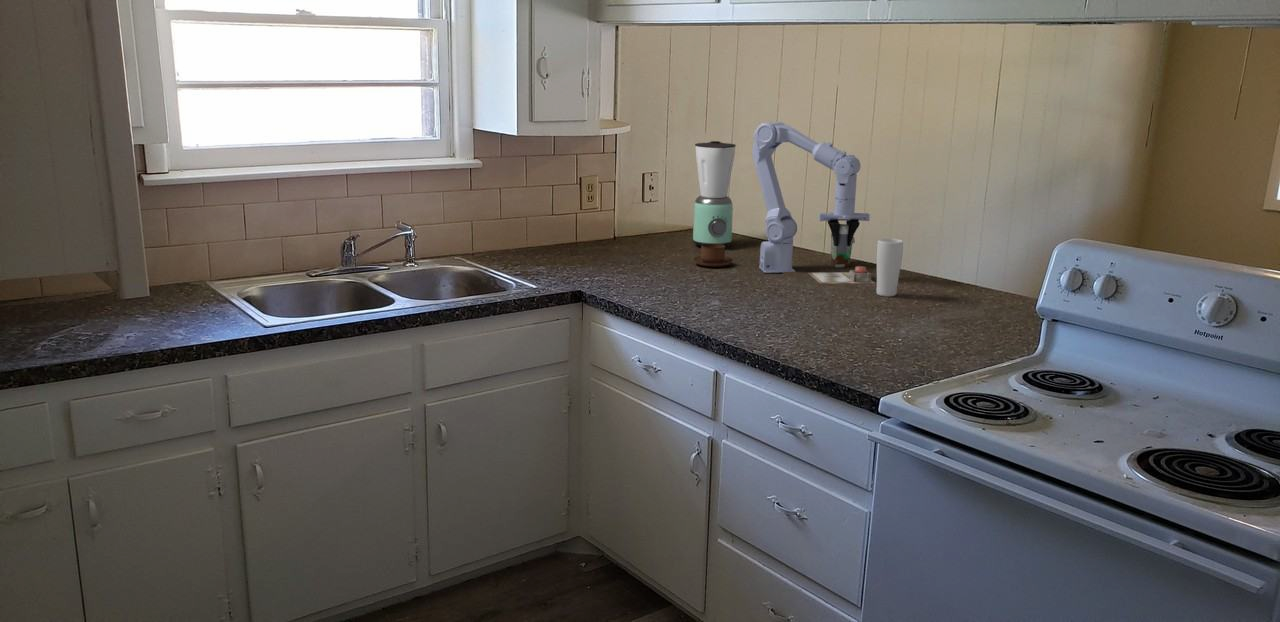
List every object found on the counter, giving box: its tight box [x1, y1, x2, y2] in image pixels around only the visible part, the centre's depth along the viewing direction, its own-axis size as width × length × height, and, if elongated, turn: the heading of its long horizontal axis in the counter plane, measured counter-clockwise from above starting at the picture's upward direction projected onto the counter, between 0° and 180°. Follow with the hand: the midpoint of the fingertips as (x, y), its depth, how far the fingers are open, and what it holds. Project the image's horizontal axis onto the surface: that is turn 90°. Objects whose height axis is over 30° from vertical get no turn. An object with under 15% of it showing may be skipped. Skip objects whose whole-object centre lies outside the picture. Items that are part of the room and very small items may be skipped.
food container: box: [829, 232, 856, 269], centre depth 302 cm, size 12×6×10 cm, turn 179°
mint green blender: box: [692, 140, 737, 249], centre depth 329 cm, size 19×13×35 cm
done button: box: [854, 265, 867, 273], centre depth 281 cm, size 3×3×2 cm
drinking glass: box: [875, 238, 904, 298], centre depth 265 cm, size 7×7×15 cm
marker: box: [836, 223, 849, 253], centre depth 283 cm, size 3×3×8 cm
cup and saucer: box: [693, 244, 733, 268], centre depth 302 cm, size 12×12×6 cm
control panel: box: [807, 269, 876, 285], centre depth 285 cm, size 16×14×3 cm
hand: (841, 245), depth 283 cm, fingers closed on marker, 3 cm apart
